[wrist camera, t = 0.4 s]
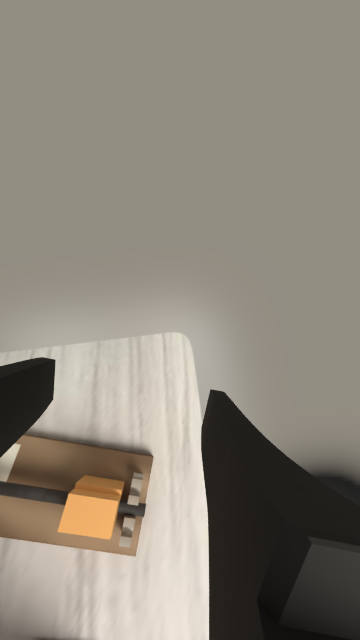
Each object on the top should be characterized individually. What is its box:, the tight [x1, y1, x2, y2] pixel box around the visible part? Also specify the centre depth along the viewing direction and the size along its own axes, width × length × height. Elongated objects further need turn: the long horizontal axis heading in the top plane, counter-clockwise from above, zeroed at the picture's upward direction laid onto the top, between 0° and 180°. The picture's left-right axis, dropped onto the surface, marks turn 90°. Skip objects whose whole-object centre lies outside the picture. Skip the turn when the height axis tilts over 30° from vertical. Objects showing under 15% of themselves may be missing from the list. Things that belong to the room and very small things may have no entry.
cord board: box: [0, 434, 153, 556], centre depth 27 cm, size 10×28×6 cm, turn 81°
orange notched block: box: [57, 475, 125, 540], centre depth 25 cm, size 4×5×6 cm
